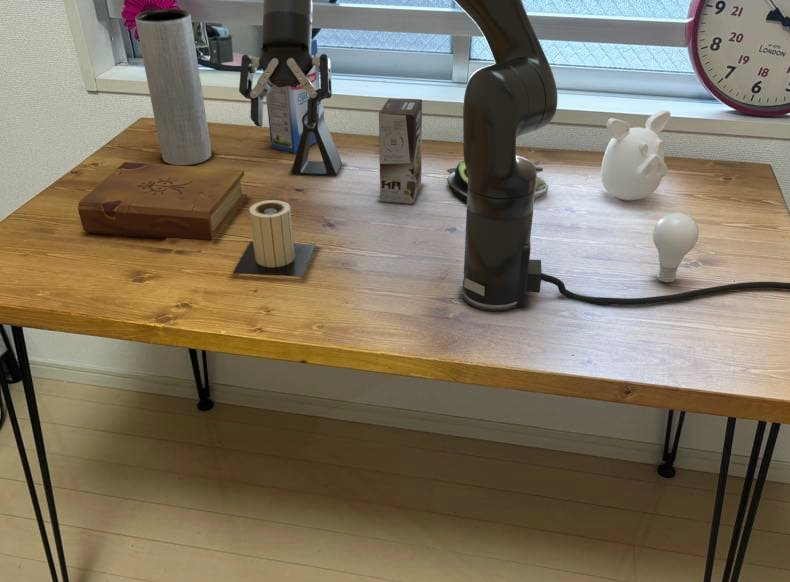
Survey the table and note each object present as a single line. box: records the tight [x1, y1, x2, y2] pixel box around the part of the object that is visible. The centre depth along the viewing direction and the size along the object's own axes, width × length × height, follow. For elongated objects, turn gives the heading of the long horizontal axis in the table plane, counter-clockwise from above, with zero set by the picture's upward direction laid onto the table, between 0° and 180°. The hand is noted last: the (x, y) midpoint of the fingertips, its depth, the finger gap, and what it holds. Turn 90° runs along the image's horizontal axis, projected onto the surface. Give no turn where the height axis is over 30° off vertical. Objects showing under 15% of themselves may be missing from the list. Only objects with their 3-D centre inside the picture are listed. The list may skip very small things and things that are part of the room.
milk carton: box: [260, 38, 322, 154], centre depth 166 cm, size 10×6×20 cm, turn 147°
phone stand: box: [291, 103, 343, 177], centre depth 157 cm, size 9×6×12 cm, turn 82°
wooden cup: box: [248, 199, 295, 267], centre depth 127 cm, size 6×6×8 cm
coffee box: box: [378, 98, 423, 205], centre depth 146 cm, size 9×6×16 cm
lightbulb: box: [652, 211, 700, 284], centre depth 121 cm, size 6×6×11 cm
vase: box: [134, 8, 212, 166], centre depth 158 cm, size 10×10×27 cm
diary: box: [77, 161, 248, 241], centre depth 142 cm, size 23×19×6 cm
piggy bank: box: [600, 109, 671, 201], centre depth 144 cm, size 12×12×15 cm
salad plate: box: [445, 160, 549, 204], centre depth 151 cm, size 19×18×5 cm
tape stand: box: [232, 208, 316, 278], centre depth 127 cm, size 11×11×9 cm
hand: (284, 125), depth 127 cm, fingers open, 8 cm apart
